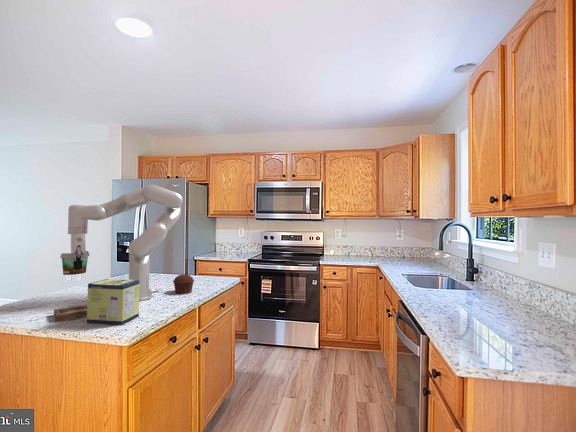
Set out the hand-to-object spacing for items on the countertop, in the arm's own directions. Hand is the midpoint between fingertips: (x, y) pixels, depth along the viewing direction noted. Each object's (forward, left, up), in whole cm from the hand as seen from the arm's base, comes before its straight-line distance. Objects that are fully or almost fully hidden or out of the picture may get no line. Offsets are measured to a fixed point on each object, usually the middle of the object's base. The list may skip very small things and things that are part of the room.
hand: (76, 268), depth 135 cm
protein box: (-9, +34, -18) cm, 40 cm away
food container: (0, +1, -3) cm, 3 cm away
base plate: (0, +18, -17) cm, 25 cm away
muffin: (-49, +8, -18) cm, 52 cm away
